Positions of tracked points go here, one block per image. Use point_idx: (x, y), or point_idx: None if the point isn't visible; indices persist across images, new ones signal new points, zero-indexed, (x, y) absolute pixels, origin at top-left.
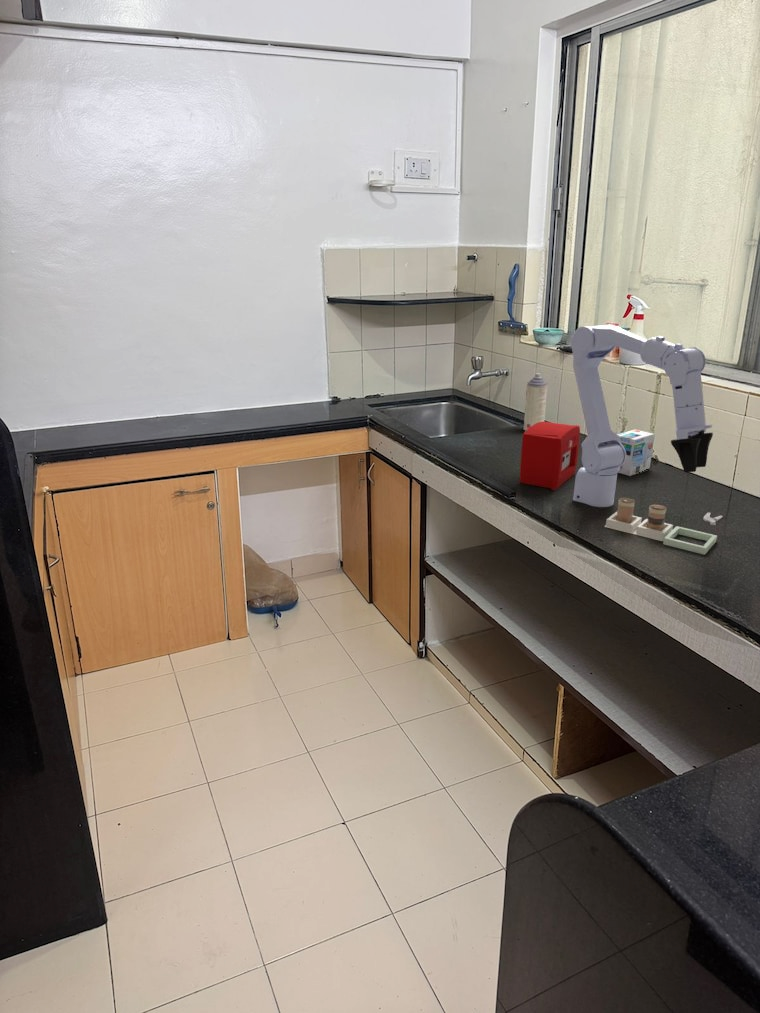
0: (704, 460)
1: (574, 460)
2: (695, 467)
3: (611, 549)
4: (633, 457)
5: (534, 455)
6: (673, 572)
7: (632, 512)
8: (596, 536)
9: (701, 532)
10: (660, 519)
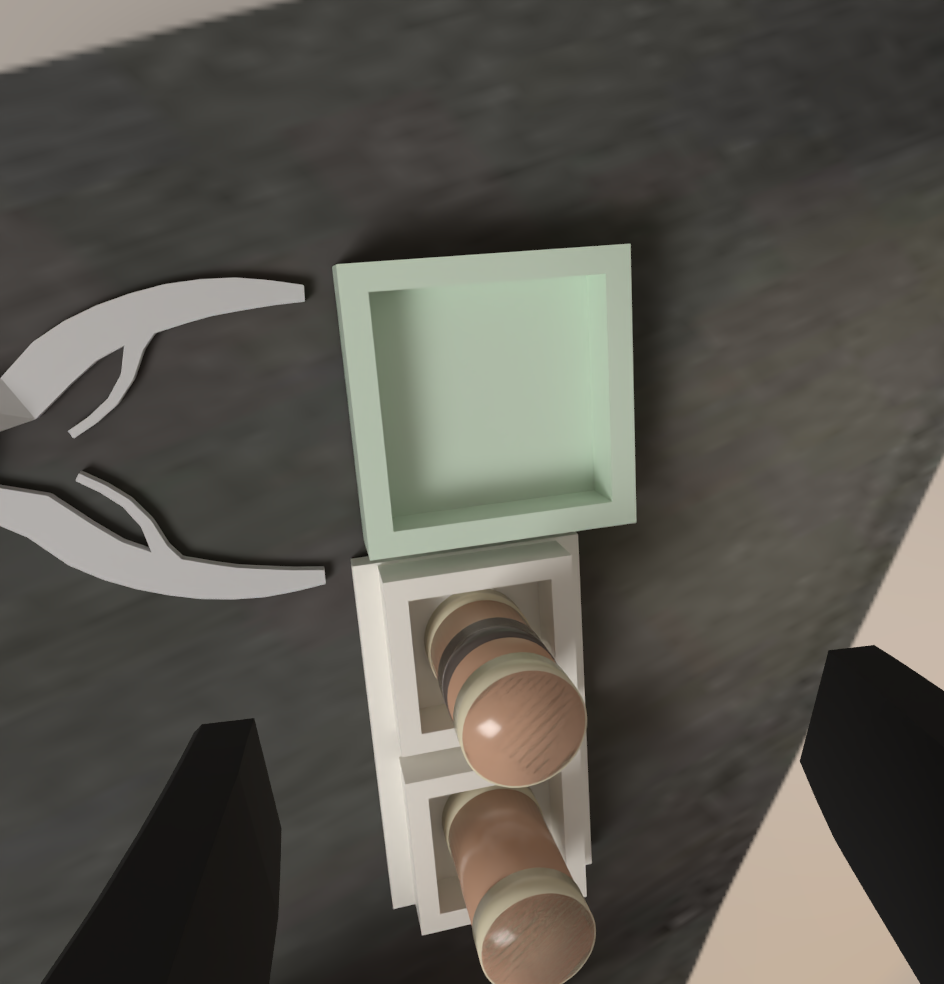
0: (230, 817)
1: None
2: (924, 682)
3: (803, 679)
4: None
5: None
6: (892, 312)
7: (517, 837)
8: (693, 819)
9: (361, 378)
10: (540, 643)
